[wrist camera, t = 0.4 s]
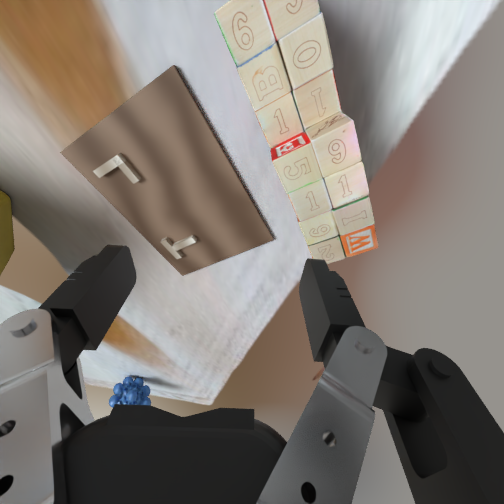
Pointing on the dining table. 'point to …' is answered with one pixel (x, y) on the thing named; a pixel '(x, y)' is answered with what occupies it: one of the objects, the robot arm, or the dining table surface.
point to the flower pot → (5, 231)
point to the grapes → (130, 393)
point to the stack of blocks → (303, 120)
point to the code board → (170, 177)
